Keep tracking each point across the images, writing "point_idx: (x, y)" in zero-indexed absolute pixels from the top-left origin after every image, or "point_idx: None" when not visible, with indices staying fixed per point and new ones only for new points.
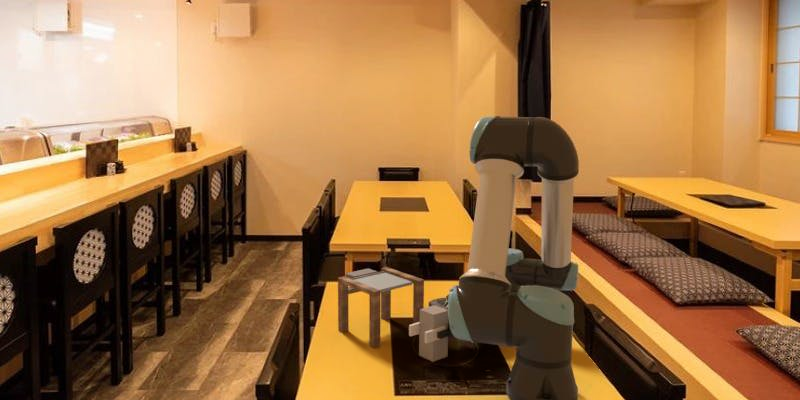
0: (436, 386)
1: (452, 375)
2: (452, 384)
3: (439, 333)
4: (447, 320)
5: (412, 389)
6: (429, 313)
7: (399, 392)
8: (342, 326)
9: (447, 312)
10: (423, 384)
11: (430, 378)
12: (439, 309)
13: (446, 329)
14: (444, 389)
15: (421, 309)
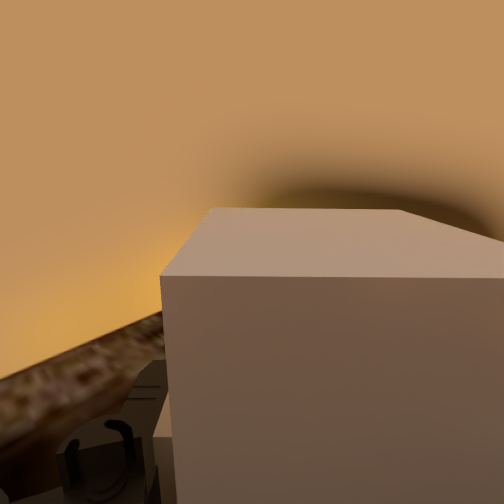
0: (72, 377)
1: (24, 486)
2: (5, 422)
3: (160, 364)
4: (180, 443)
5: (137, 333)
6: (266, 210)
7: (157, 314)
8: None
9: (171, 303)
10: (123, 361)
11: (121, 397)
12: (311, 245)
13: (148, 457)
14: (33, 381)
15: (391, 211)
